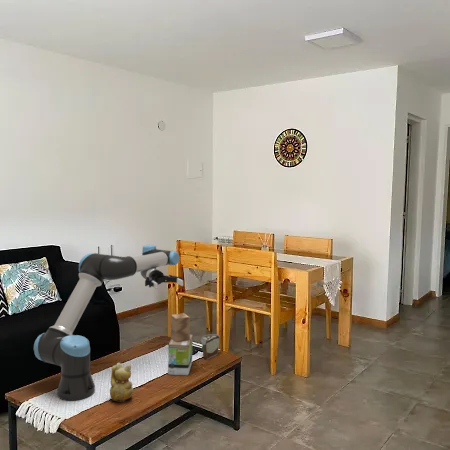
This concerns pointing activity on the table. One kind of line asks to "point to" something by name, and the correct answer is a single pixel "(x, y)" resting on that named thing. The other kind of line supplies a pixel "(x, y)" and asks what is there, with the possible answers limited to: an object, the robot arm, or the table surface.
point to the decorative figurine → (121, 383)
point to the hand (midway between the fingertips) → (169, 284)
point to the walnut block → (180, 327)
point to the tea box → (180, 357)
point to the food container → (210, 345)
